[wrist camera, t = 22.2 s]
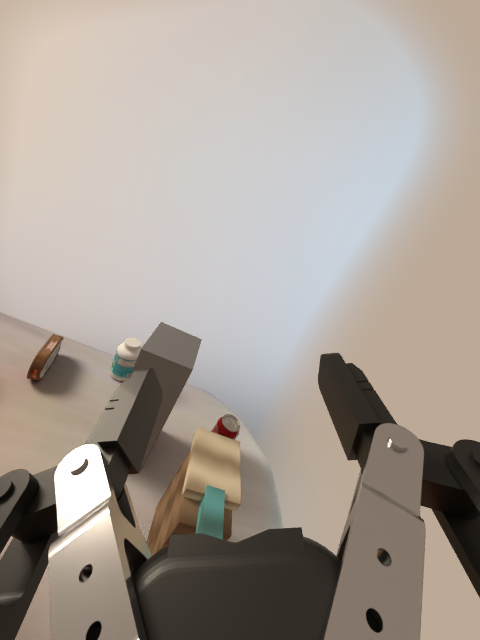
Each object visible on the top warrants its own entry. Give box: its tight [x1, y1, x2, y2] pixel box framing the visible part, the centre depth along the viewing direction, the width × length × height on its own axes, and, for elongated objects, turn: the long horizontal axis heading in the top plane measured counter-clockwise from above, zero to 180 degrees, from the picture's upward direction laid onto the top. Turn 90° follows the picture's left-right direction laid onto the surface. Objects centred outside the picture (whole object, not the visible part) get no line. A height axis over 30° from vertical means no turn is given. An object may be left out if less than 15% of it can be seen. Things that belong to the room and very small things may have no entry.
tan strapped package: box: [182, 427, 241, 539], centre depth 36 cm, size 21×9×2 cm, turn 1°
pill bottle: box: [110, 338, 141, 381], centre depth 74 cm, size 8×7×14 cm
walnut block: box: [147, 451, 232, 556], centre depth 42 cm, size 12×8×21 cm, turn 1°
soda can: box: [211, 414, 240, 440], centre depth 66 cm, size 7×7×12 cm
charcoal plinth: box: [129, 322, 201, 470], centre depth 53 cm, size 12×10×32 cm
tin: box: [27, 334, 63, 380], centre depth 64 cm, size 15×3×8 cm, turn 16°
